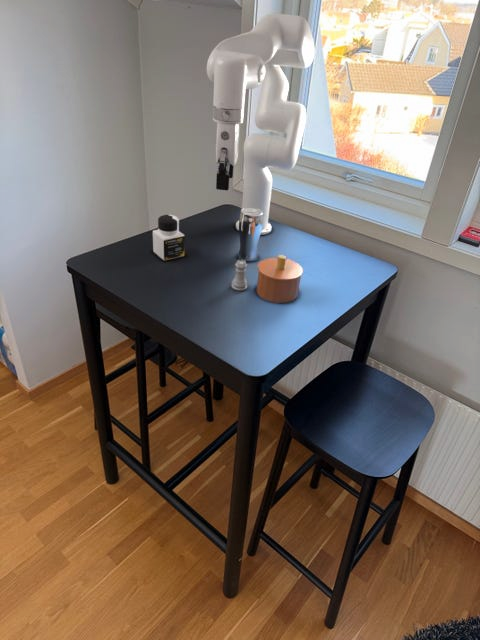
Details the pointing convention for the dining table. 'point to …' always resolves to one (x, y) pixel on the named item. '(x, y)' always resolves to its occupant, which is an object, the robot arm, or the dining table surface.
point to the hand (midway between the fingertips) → (224, 183)
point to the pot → (277, 289)
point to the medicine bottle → (168, 238)
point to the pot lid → (280, 268)
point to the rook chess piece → (240, 276)
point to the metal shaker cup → (249, 233)
